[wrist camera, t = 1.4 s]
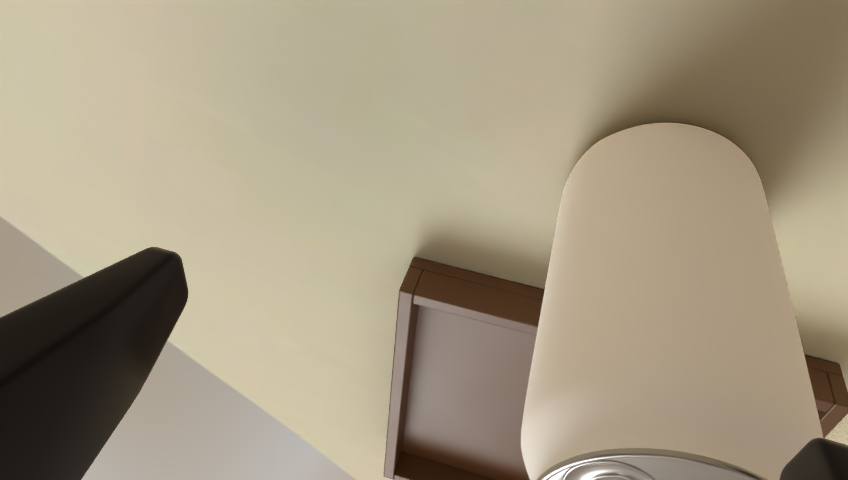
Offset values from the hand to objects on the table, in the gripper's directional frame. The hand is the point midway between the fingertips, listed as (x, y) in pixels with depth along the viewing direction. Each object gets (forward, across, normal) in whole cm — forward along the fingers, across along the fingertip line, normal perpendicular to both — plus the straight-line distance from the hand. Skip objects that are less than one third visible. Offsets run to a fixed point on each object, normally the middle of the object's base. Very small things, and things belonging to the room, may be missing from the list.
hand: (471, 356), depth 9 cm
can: (+14, -5, +6) cm, 15 cm away
